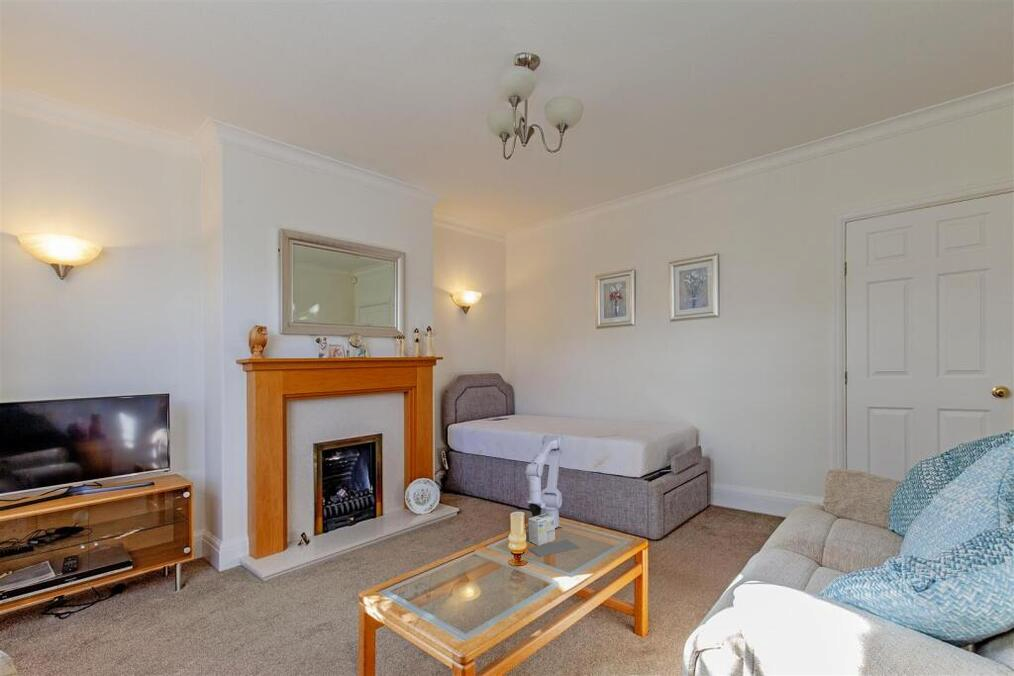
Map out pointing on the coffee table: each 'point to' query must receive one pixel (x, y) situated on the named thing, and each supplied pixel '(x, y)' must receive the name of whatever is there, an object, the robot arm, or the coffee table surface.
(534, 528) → the light bulb box
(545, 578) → the coffee table surface
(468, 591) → the coffee table surface
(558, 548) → the mat
